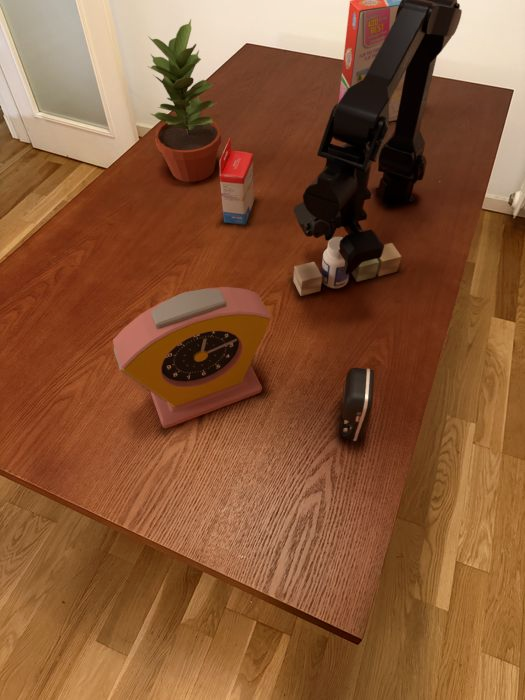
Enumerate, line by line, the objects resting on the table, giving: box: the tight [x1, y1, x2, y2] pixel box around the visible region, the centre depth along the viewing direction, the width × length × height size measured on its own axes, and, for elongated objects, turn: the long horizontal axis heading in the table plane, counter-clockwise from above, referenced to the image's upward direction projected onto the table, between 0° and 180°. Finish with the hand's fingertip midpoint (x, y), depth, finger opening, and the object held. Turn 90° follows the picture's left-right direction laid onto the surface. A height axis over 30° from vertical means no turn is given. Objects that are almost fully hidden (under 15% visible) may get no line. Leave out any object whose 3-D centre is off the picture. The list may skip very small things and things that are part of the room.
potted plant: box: [147, 19, 222, 183], centre depth 105 cm, size 15×15×30 cm
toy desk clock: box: [112, 286, 272, 429], centre depth 73 cm, size 22×9×22 cm, turn 114°
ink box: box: [219, 137, 255, 226], centre depth 102 cm, size 8×5×15 cm, turn 168°
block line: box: [292, 242, 402, 297], centre depth 95 cm, size 20×4×4 cm, turn 108°
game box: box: [338, 0, 406, 123], centre depth 118 cm, size 21×6×27 cm, turn 108°
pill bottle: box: [320, 236, 350, 289], centre depth 92 cm, size 5×5×9 cm
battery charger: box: [340, 367, 375, 442], centre depth 74 cm, size 7×4×11 cm, turn 170°
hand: (337, 256), depth 91 cm, fingers open, 9 cm apart
